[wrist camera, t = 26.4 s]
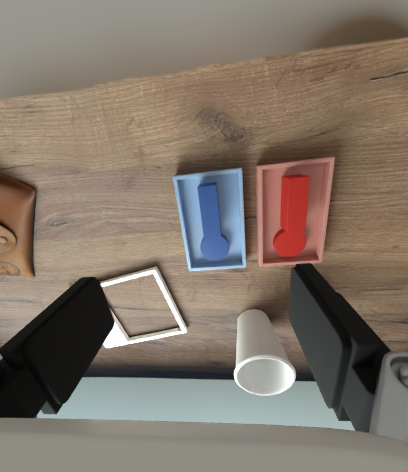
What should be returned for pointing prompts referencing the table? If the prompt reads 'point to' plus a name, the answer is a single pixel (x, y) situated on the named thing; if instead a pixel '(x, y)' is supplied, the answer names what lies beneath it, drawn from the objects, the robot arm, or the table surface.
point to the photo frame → (121, 337)
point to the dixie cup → (261, 356)
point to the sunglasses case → (16, 227)
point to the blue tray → (229, 216)
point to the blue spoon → (211, 223)
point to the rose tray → (271, 208)
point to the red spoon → (292, 215)
